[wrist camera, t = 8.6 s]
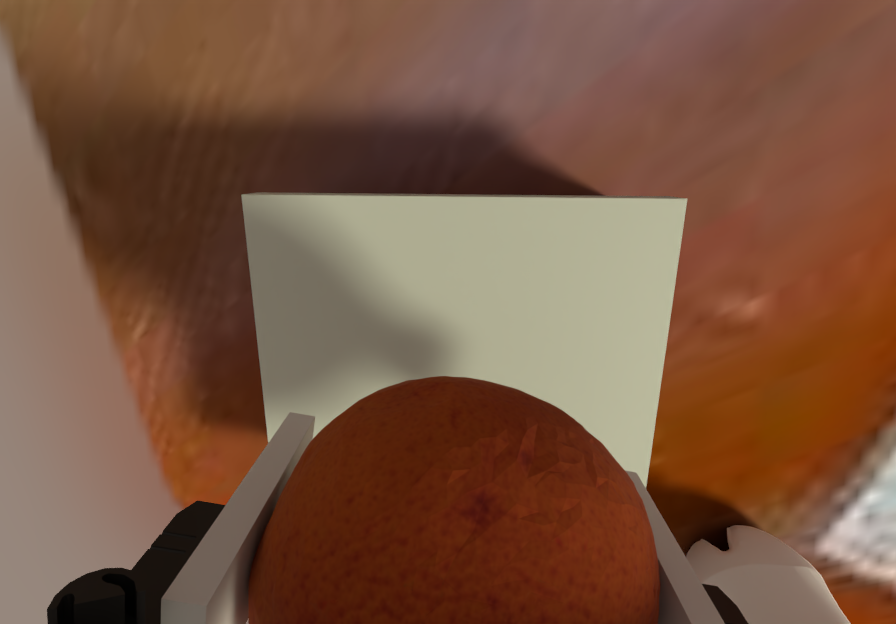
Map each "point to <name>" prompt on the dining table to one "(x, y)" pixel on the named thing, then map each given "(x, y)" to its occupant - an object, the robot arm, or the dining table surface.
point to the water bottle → (765, 579)
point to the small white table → (467, 301)
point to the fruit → (456, 518)
